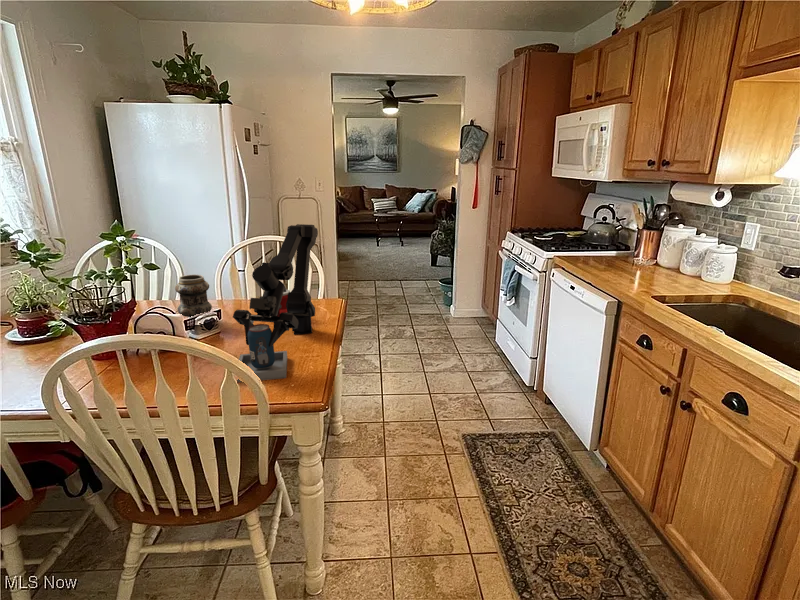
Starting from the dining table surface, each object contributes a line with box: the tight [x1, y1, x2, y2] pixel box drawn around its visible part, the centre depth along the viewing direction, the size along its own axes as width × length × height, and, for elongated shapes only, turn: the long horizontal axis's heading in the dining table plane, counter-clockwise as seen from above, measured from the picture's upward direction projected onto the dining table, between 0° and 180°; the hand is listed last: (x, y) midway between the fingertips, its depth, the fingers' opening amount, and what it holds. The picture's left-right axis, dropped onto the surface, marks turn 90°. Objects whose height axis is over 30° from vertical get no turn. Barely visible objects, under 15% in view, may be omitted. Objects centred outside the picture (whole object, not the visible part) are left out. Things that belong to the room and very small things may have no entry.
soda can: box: [247, 323, 275, 369], centre depth 134 cm, size 7×7×12 cm
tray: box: [237, 350, 288, 383], centre depth 135 cm, size 14×14×2 cm
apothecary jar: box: [174, 274, 213, 318], centre depth 172 cm, size 12×12×18 cm
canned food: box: [277, 288, 291, 316], centre depth 178 cm, size 8×8×11 cm
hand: (258, 345), depth 132 cm, fingers closed on soda can, 7 cm apart
